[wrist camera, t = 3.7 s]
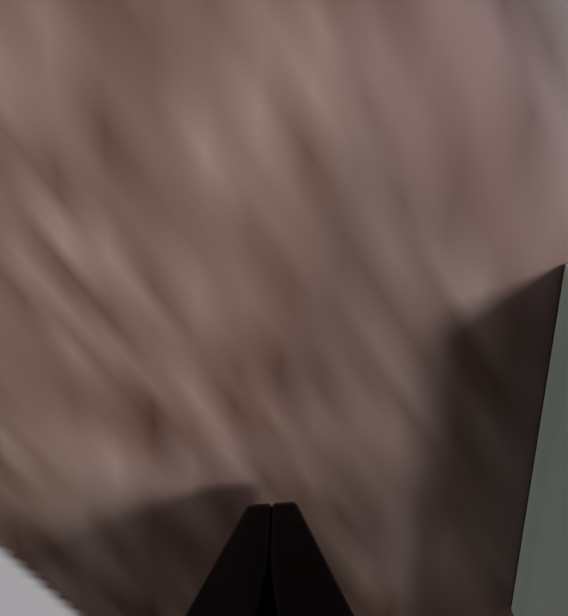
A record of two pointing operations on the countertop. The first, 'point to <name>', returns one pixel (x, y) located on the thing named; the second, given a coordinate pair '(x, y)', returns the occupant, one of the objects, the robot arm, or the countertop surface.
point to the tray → (548, 493)
